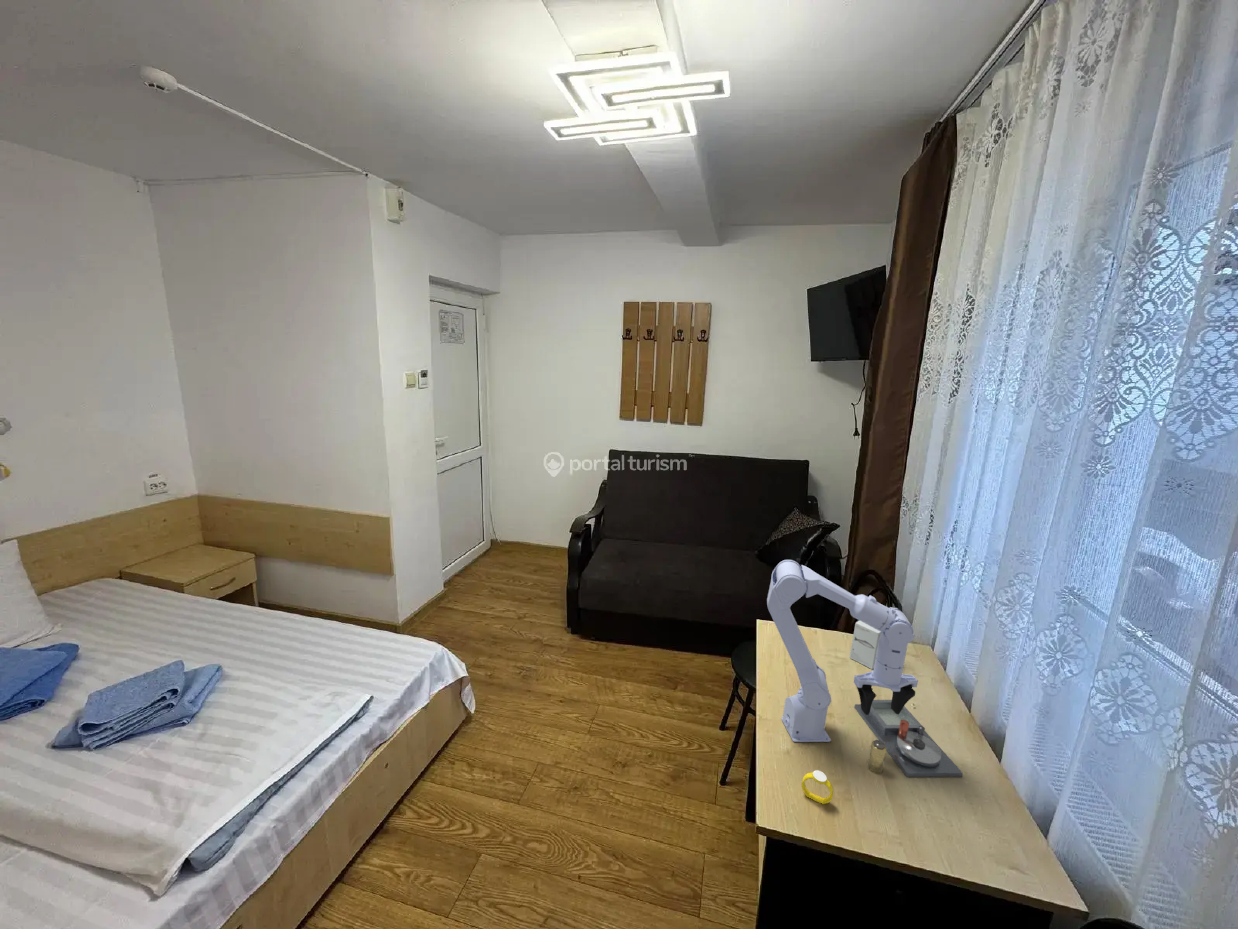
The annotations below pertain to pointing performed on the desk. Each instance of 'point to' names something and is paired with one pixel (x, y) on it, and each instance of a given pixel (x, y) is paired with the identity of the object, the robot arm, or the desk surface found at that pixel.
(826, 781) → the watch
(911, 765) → the crank bench
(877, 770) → the cylinder
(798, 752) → the desk surface
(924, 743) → the crank
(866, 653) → the supplement box
